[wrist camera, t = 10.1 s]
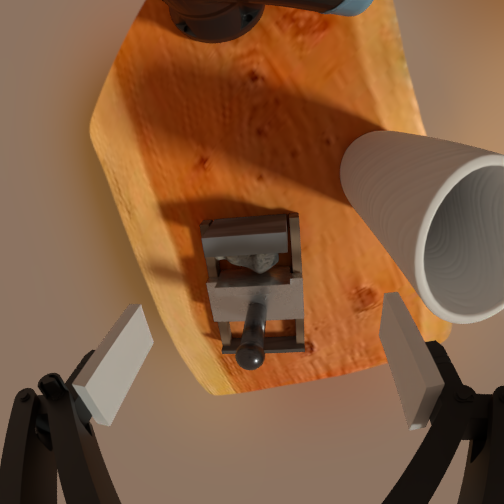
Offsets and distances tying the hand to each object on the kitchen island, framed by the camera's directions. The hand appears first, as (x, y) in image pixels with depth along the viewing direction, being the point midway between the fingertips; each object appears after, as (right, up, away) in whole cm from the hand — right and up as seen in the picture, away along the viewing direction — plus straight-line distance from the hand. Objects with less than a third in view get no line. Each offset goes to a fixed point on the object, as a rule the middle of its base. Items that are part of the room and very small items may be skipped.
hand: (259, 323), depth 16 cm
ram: (+1, -3, +41) cm, 41 cm away
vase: (+20, +16, +31) cm, 41 cm away
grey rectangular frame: (+1, -2, +41) cm, 41 cm away
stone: (-1, +4, +39) cm, 39 cm away
